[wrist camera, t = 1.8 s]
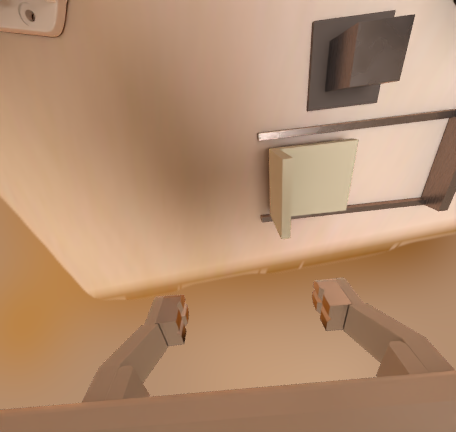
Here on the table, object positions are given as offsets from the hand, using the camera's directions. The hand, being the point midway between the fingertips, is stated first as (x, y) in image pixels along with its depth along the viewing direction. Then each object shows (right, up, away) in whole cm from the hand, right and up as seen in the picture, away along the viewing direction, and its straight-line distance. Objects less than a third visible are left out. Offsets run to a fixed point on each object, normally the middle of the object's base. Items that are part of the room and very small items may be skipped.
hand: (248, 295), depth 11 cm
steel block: (+12, +21, +11) cm, 26 cm away
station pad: (+12, +21, +11) cm, 26 cm away
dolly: (+9, +10, +17) cm, 22 cm away
